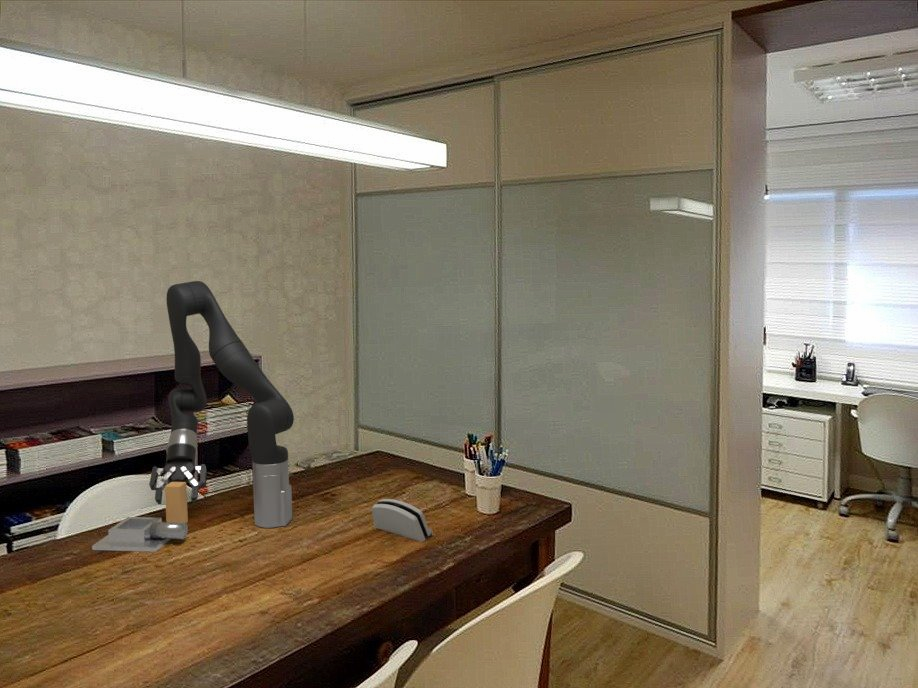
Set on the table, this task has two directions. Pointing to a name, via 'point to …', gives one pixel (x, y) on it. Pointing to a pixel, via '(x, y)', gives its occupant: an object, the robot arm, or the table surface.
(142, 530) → the bracket head
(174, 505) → the upright wooden block
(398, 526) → the grey rounded block
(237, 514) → the table surface
